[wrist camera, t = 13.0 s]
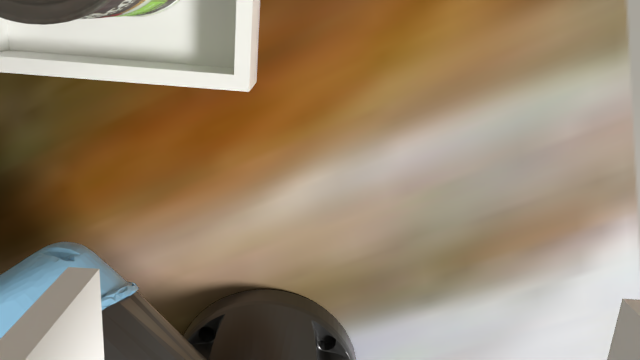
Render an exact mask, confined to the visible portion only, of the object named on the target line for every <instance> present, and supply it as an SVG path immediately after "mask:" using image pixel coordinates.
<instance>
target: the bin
mask: <svg viewBox="0 0 640 360" xmlns="http://www.w3.org/2000/svg"><path fill="white" fill-rule="evenodd" d="M259 15H260V0H180V1H179V2H177V3H176V4H175V5H173V6H172V7H170V8H168V9H167V10H164V11H162V12H160V13H157V14H154V15H149V16H145V17H129V16H121V17H105V18H93V19H76V20H73V21H69V22H64V23H58V24H47V25H40V24H25V23H19V22H14V21H10V20H6V19H3V18H0V72H5V73H18V74H30V75H43V76H56V77H68V78H81V79H94V80H107V81H119V82H132V83H145V84H157V85H170V86H183V87H195V88H208V89H221V90H233V91H246V92H249V91H250V90H251V89H252V87H253V86H254V85H255V83H256V81H257V59H258V37H259Z"/></svg>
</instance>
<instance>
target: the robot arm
mask: <svg viewBox="0 0 640 360" xmlns="http://www.w3.org/2000/svg"><path fill="white" fill-rule="evenodd" d="M138 289H139V288H138V287H137V285H136V284H135V283H133V282H127V281H126V280H124V279H123V278H122V277H121V276H120V275H119V274H118V273H116V272H115V271H114V270H113V269H112V268H111V267H110V266H109V265H107V264H106V263H105V262H104V261H103V260H102V259H101V258H99V257H98V256H97V255H96V254H95V253H94V252H93V251H91V250H90V249H89V248H87V247H85V246H83V245H81V244H78V243H73V242H59V243H54V244H51V245H48V246H46V247H44V248H42V249H40V250H39V251H37V252H35V253H34V254H32V255H31V256H29V257H27V258H26V259H24V260H23V261H21V262H20V263H18V264H17V265H15V266H14V267H12V268H10V269H9V270H7V271H6V272H4V273H3V274H1V275H0V360H356V357H355V352H354V348H353V346H352V343H351V340H350V338H349V336H348V335H347V333H346V331H345V330H344V328H343V327H342V325H341V324H340V323H339V322H338V321H337V320H336V318H335V317H334V316H333V315H331V314H330V313H329V312H328V311H327V310H325V309H324V308H323V307H321V306H320V305H318V304H317V303H315V302H313V301H311V300H309V299H307V298H305V297H302V296H300V295H296V294H293V293H289V292H285V291H279V290H267V289H262V290H250V291H244V292H240V293H236V294H233V295H230V296H227V297H225V298H222V299H220V300H218V301H217V302H215V303H213V304H212V305H210V306H209V307H207V308H206V309H205V310H203V311H202V312H201V313H200V314H199V315H198V316H197V317H196V318H195V319H194V320H193V322H192V323H191V324H190V325H189V327H188V329H187V330H186V332H185V334H184V336H182V335H181V334H180V333H179V332H178V331H177V330H176V329H175V328H174V327H173V326H172V325H171V324H170V323H169V322H168V321H167V320H166V319H165V318H164V317H163V316H162V315H161V314H160V313H159V312H158V311H157V310H156V309H155V308H154V307H153V306H152V305H151V304H150V303H149V302H148V301H146V300H145V299H144V298H143V297H142V296H141V295H140V294H139V293H138V292H137V290H138ZM607 360H640V300H634V299H622V303H621V307H620V311H619V315H618V319H617V323H616V327H615V331H614V335H613V339H612V343H611V347H610V351H609V355H608V359H607Z"/></svg>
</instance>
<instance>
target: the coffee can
mask: <svg viewBox="0 0 640 360" xmlns="http://www.w3.org/2000/svg"><path fill="white" fill-rule="evenodd" d="M179 1H180V0H0V18H3V19H6V20H10V21H14V22H19V23H25V24H40V25H47V24H58V23H64V22H69V21H73V20H76V19H93V18H105V17H121V16H129V17H145V16H149V15H154V14H157V13H160V12H162V11H164V10H167V9H168V8H170V7H172V6H173V5H175V4H176V3H177V2H179Z"/></svg>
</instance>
